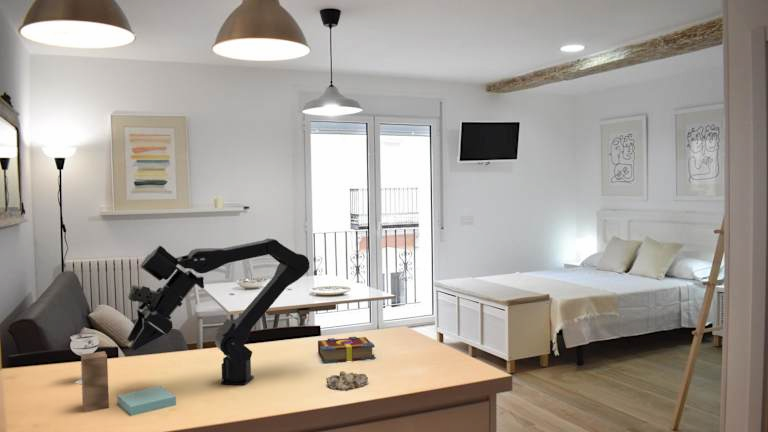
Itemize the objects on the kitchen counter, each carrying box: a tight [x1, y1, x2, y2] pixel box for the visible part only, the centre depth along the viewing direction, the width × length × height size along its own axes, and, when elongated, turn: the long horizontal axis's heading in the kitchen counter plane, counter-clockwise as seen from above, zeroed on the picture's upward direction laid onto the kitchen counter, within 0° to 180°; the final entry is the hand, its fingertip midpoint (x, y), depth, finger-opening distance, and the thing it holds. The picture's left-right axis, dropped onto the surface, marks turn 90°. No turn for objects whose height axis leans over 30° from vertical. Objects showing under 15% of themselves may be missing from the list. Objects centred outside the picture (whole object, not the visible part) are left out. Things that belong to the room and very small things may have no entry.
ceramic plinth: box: [116, 385, 177, 417], centre depth 140 cm, size 10×10×2 cm
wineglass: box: [69, 332, 100, 385], centre depth 158 cm, size 7×7×12 cm
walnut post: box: [80, 350, 110, 413], centre depth 139 cm, size 5×5×12 cm
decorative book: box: [317, 336, 375, 364], centre depth 178 cm, size 11×16×5 cm
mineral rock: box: [325, 371, 369, 392], centre depth 151 cm, size 11×4×8 cm
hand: (130, 344), depth 144 cm, fingers open, 9 cm apart
